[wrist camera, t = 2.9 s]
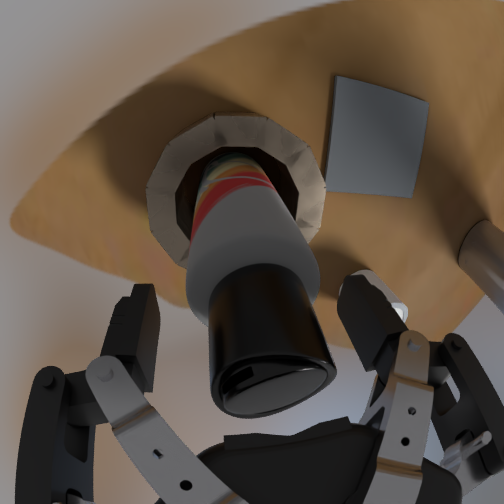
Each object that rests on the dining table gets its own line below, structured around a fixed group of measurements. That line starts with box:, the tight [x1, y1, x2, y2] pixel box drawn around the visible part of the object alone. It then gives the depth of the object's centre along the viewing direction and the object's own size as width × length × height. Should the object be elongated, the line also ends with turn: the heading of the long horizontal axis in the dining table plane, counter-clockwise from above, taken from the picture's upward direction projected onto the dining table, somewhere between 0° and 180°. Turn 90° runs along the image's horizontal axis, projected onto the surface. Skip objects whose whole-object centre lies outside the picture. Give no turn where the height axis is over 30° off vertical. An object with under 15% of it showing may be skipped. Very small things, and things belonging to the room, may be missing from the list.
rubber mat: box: [324, 76, 429, 198], centre depth 23 cm, size 11×11×1 cm
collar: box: [145, 112, 326, 269], centre depth 21 cm, size 12×12×6 cm
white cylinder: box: [339, 269, 408, 323], centre depth 30 cm, size 7×7×7 cm
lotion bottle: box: [186, 152, 337, 419], centre depth 15 cm, size 6×6×20 cm
